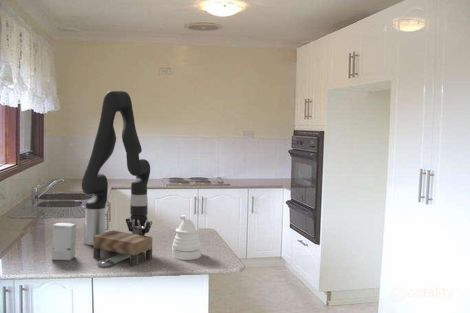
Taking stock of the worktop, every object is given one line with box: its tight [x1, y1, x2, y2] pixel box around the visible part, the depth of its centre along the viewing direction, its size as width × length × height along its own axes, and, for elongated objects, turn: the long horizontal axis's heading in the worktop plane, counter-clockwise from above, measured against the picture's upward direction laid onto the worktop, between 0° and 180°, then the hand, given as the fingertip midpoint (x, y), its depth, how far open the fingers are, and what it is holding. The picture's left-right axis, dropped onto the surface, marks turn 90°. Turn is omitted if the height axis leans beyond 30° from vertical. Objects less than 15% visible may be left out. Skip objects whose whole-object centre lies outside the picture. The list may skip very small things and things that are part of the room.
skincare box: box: [51, 222, 77, 261], centre depth 198 cm, size 8×6×15 cm
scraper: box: [106, 227, 140, 265], centre depth 202 cm, size 20×4×10 cm, turn 153°
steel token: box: [97, 259, 114, 268], centre depth 191 cm, size 6×6×2 cm
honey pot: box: [171, 214, 202, 261], centre depth 207 cm, size 13×13×18 cm
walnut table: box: [93, 230, 153, 267], centre depth 200 cm, size 22×12×10 cm, turn 63°
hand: (138, 241), depth 210 cm, fingers closed on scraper, 3 cm apart
